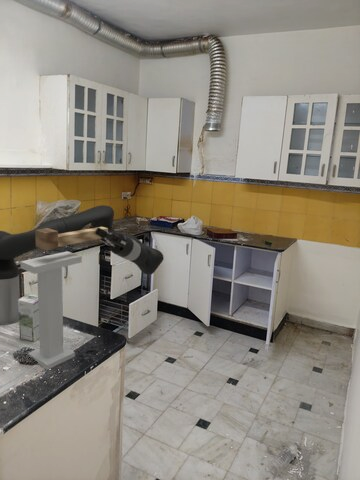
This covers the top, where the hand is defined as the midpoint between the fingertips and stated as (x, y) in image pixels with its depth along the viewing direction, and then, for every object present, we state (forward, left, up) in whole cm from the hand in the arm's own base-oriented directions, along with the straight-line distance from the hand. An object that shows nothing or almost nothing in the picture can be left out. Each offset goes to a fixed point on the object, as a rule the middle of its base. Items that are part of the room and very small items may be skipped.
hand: (93, 229), depth 123 cm
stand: (-12, -11, -39) cm, 42 cm away
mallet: (-5, -5, -3) cm, 8 cm away
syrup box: (-21, +2, -39) cm, 44 cm away
